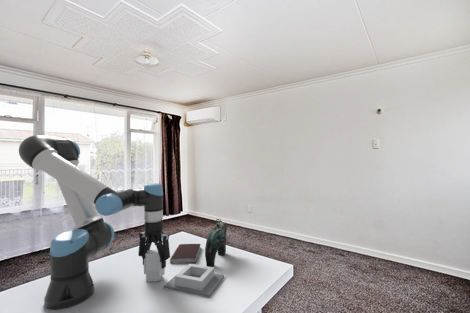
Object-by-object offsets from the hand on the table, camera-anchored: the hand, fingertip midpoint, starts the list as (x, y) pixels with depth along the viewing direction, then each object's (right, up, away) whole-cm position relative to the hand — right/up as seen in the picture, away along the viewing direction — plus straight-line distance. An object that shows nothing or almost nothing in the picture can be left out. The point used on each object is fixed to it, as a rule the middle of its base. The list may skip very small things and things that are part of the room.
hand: (154, 274), depth 99 cm
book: (+9, -3, +25) cm, 26 cm away
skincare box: (0, -2, 0) cm, 2 cm away
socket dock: (+18, -2, -3) cm, 18 cm away
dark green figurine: (+25, -2, +19) cm, 32 cm away
